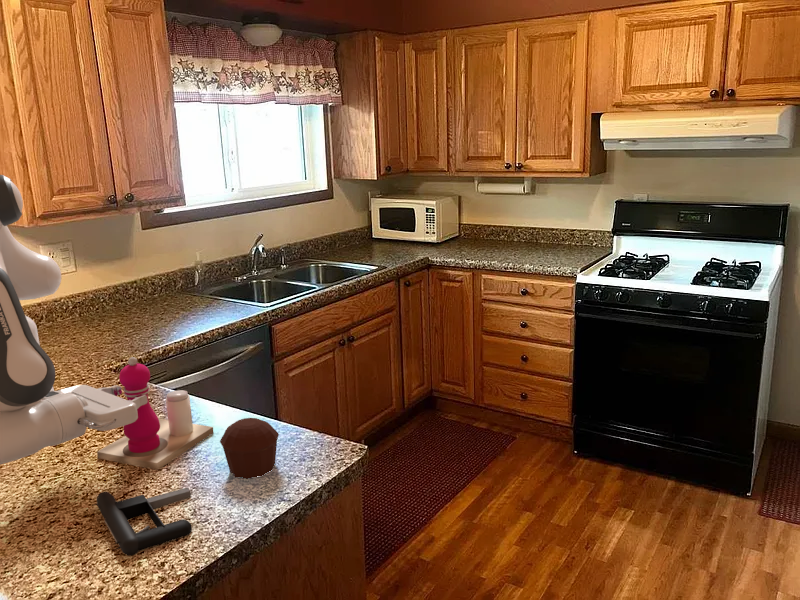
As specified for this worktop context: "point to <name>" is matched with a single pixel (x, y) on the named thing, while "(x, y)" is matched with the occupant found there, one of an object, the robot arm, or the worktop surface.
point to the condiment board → (160, 455)
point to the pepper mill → (140, 409)
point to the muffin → (250, 447)
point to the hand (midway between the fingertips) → (132, 393)
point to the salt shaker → (179, 413)
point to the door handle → (137, 506)
